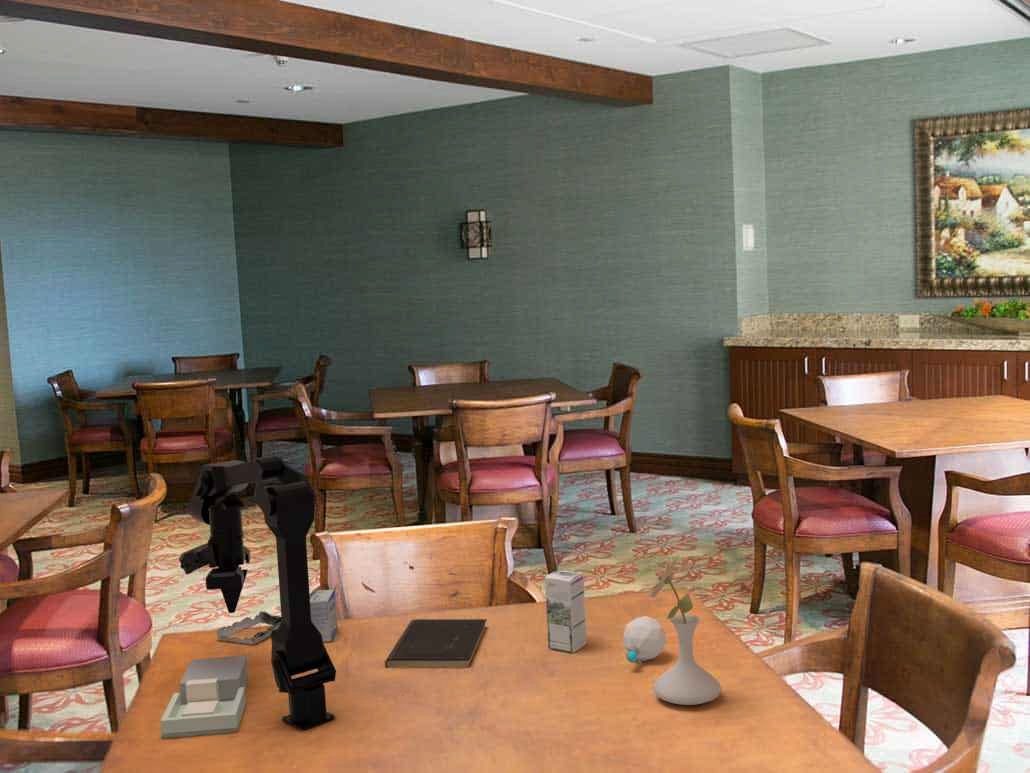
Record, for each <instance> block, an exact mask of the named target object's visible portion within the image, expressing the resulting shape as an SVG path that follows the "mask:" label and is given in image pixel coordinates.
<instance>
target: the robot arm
mask: <svg viewBox="0 0 1030 773" xmlns="http://www.w3.org/2000/svg"><path fill="white" fill-rule="evenodd" d="M201 470H202V471H200V472H199V475H198V478H197V482H196V484H195V486H194V489H193V495H192V496H191V498H190V500H189V501H188V505H187V510H188V514H189V515H190V516H191V518H193V519H194V520H196V521H198V522H200V523H203V524H205V525H207V526H209V531H210V532H209V533H210V534H209V535H210V536H209V539H207V542H206V543H204V544H200V545H198V546H195V547H194V548H191V549H189V550H187V551H184V552H183V553H181V554H180V557H179V558H178V560H179V562H180V569H182V570H183V571H184V573H185V575H190V574H192V573H193V572H195V571H196V570H199V569H202V568H204V567H207V566H208V568H209V569H210V571H209V572H208V573H207V574H206V578H205V589H206V590H210V591H213V590H220V592H221V595H222V597H223V600H224V602H225V606H226V610H227V612H228V614H235V613H236V610H237V608H238V603H239V601H240V600H239V599H240V596H241V594H242V591H243V587H244V584H245V581H246V577H247V574H248V572H249V570H248V569H243V568H242V567H241V566H244V564H250V562H251V550H250V549H249V548H248V547H246V546H245V545H244V538H245V531H244V530H243V519H242V518H243V517H242V516H243V515H242V508H245V503H244V501H243V500H242V499H241V498H240V497H238V494H237V493H239V492H241V491H243V490H245V489H246V488H247V487H248V486H249V484H250V483H254V484H255V490H254V496H253V498H254V501H255V502H256V504H257V506H258V507H259V508H260V510H261V512H262V514H263V516H264V517H263V518H264V523H265V525H266V526H267V528H268V529H269V530H270V531H271V533H272V534H273V535H274V537H275V543H276V555H277V556H276V558H277V574H278V575H277V576H278V588H279V600H280V601H279V602H280V617H281V624H280V626H279V628H278V629H276V630H273V631H272V633H271V635H270V640H271V641H270V642H271V658H270V662H271V667H272V672H273V676H274V680H275V685H276V687H277V689H278V692H279V693H287V694H288V708H289V714H287V715H283V716H282V717H281V719H282V720H281V721H283V722H285V723H286V724H289V725H291V726H292V727H295V728H297V729H298V730H301V731H303V730H307V729H311V728H313V727H316V726H319V725H321V724H323V723H327V722H330V721H332V720H334V719H336V717H335V714H334V713H331V712H329V711H327V700H326V686H325V685H324V684H327V683H330V682H335V681H336V675H337V670H336V668H335V666H334V663H333V661H332V659H331V657H330V655H329V653H328V651H327V649H326V646H325V644H324V642H323V639H322V635H321V633H320V632H319V630H318V629H317V628H316V627H315V625H314V624H313V623H312V620H311V608H310V598H311V595H310V579H309V568H308V567H309V563H308V549H307V548H308V546H307V535H308V533H309V531H310V529H311V528H312V526H313V524H314V521H315V518H316V517H315V516H316V505H317V495H316V492H315V490H314V488H313V487H312V486H311V484H310V483H309V481H308V479H307V478H306V476H305V475H304V474H303V473H301V472H299V471H298V470H296V469H295V468H292V467H291V466H289V465H287V464H286V463H285V461H284V459H283V458H282V457H281V456H277V455H269V456H263V457H257V458H256V457H255V458H253V460H249V461H243V460H238V459H236V460H234V459H232V460H228V461H221V462H216V463H208V464H204V465H203V466H202V468H201ZM273 480H278V481H279V482H280V483H282V484H280V485H275V486H269V487H267V488H265V486H264V485H263V483H262V482H268V481H273ZM313 670H317V671H315V672H312V671H313ZM310 671H311V673H308V674H307V672H310ZM304 673H306V674H304ZM300 674H304V675H302V676H297V677H295V678H293V677H294V676H296V675H300Z"/></svg>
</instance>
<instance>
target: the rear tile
mask: <svg viewBox="0 0 1030 773" xmlns="http://www.w3.org/2000/svg"><path fill="white" fill-rule="evenodd" d="M186 695H187V704H188V703H189V702H203V701H216V700H218V701H219V689H218V678H213V679H201V680H189V681H187V683H186ZM219 707H220V702H219Z"/></svg>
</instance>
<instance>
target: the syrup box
mask: <svg viewBox="0 0 1030 773" xmlns="http://www.w3.org/2000/svg"><path fill="white" fill-rule="evenodd" d="M544 587H545V588H544V589H545V610H546V628H547V648H548V649H549V650H553V651H554V650H555V651H561V652H566V653H571V654H574V653H576V652H577V651H579V650H580V649H582V648H583V647H585V646H586V645H587V627H586V603H585V599H586V598H585V576H584V573H583V572H578V571H577V572H576V571H571V570H570V571H569V570H563V569H562V570H561V569H557V570H555V571H552V572H551V573H549V574H547V575H546V576H545V577H544Z"/></svg>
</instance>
